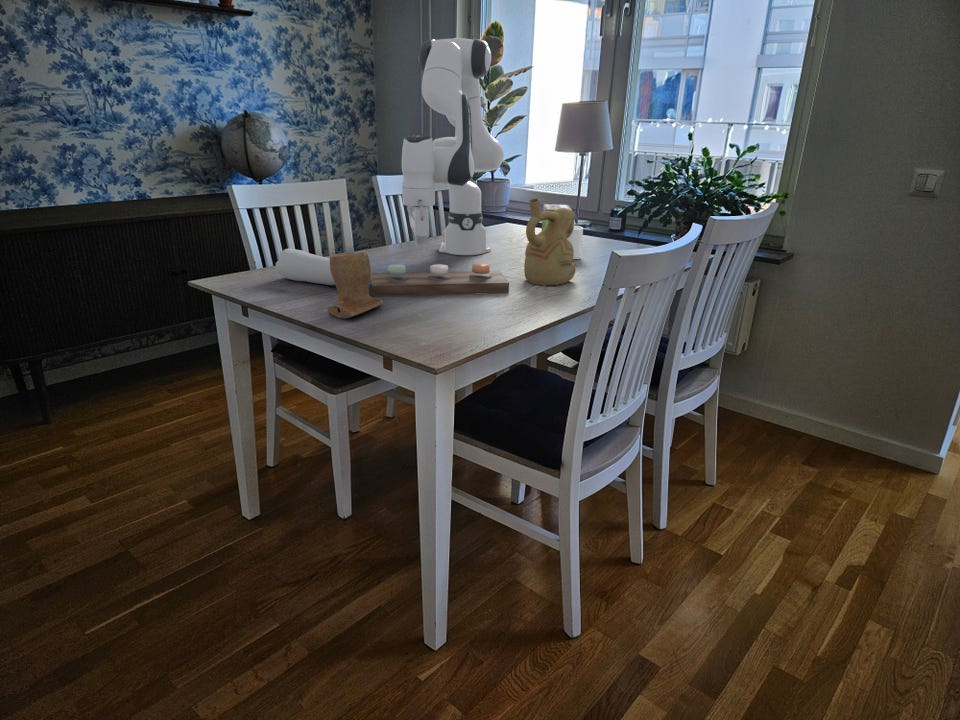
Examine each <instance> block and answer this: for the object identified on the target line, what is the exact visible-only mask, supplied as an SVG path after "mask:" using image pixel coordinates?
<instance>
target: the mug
mask: <svg viewBox="0 0 960 720" xmlns="http://www.w3.org/2000/svg"><path fill="white" fill-rule="evenodd" d="M583 235H584V227H582V226H579V225H574V229H573V232H572V234H571V235H570V237H568V238H567V239H568V241H569V242H570V243H571V244H572V246H573V251H574V255H573V259H578V260H580V259H581V258H582V246H583ZM579 258H580V259H579Z"/></svg>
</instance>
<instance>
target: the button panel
mask: <svg viewBox="0 0 960 720" xmlns="http://www.w3.org/2000/svg"><path fill="white" fill-rule="evenodd" d="M371 276H372V280H371V292H372V293H371V294H372V296H371V297H395V296H396V297H398V296H399V297H400V296H440V295H441V294H442V295H443V296H444V294H446V295H475V294H476V293H487V294H509V293H510V282H509V281H508V279H507V278H506V276H505V275H504V274H503V272H502V271H501V270H489V273H487V274H476V273H473V272H472V270H465V271H463V270H460V271H459V270H457V271H454V270H453V271H448V274H446V275H432V274H431V271H414V272H411V271H410V272H409V271H408V272H407V271H406V274H405V275H400V276H394V275H389V274H388V272H372V273H371ZM476 295H477V294H476Z"/></svg>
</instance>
